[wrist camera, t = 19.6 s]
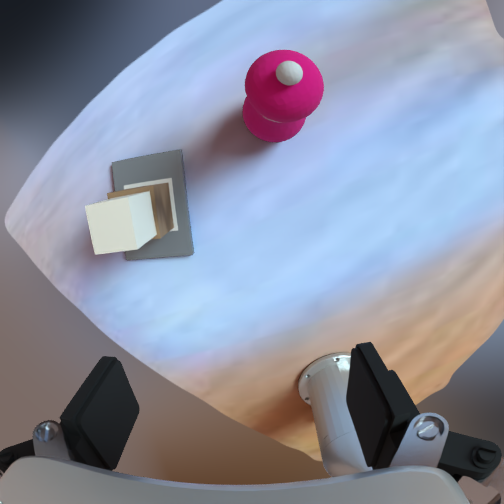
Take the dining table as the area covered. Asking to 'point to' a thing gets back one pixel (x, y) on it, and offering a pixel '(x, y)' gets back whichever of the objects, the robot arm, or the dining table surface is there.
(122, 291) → the dining table surface
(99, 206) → the cream block
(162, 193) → the walnut block
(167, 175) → the pad
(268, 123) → the pepper mill
